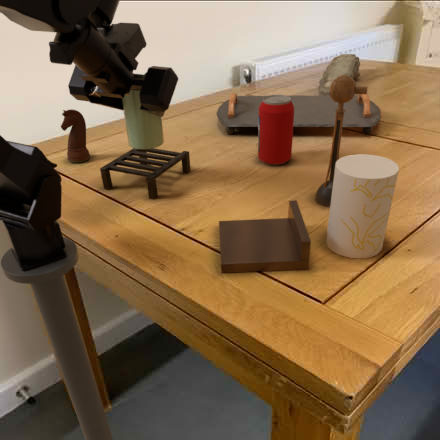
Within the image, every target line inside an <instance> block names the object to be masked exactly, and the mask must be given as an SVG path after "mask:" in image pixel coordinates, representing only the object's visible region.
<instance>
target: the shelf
mask: <svg viewBox="0 0 440 440" xmlns="http://www.w3.org/2000/svg"><path fill="white" fill-rule="evenodd" d="M218 232H219V250H220V251H219V253H220V271H221V272H220V273H221V274H226V273H228V274H229V273H248V272H250V273H252V272H271V271H292V270H297V271H298V270H309V264H310V255H311V243H312V241H311V238H310V235H309V232H308V229H307V226H306V223H305V220H304V218H303V215H302V212H301V209H300V206H299V203H298V200H296V199H295V200H288V211H287V217H281V218H260V219H259V218H257V219H256V218H255V219H233V220H219V221H218Z"/></svg>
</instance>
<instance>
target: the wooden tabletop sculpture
mask: <svg viewBox="0 0 440 440" xmlns="http://www.w3.org/2000/svg"><path fill="white" fill-rule="evenodd" d="M329 92H330V96H331V98H332V99H333V101H335V102H338V109H335V111H336V117H335V126H334V127H333V134H332V136H333V137H332V142H331V150H330V155H329V163H328V168H327V173H326V177H325V180H324V182H323V183H322V184H320V186H319V187H318V188H317V189H316V192H315V195H314V201H315V202H316V204H317V205H320V206H323V207H328V208H330V205H331V197H332V188H333V180H334V172H335V164H336V162H337V160H339V159H340V151H341V142H342V132H343V127H342V125H343V118H344V112H345V111H346V110H345V109H343V107H344V103H346V102H349V101H350V100H351V99H352V98H353V97H354V95H360V94H367V93H368V86H363V85H362V86H359V85H357V83H356V80H355V79H352V78H351V77H350V76H346V75H343V76H339V77H337V78H336V79H334V80H333V82H332V83H331V85H330V90H329Z"/></svg>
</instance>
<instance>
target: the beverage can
mask: <svg viewBox="0 0 440 440" xmlns="http://www.w3.org/2000/svg"><path fill="white" fill-rule="evenodd" d="M264 96H265V97H264V98H263V101H262V103H261V104H260V106H259V121H258V127H257V131H258V132H257V134H258V135H257V158H258V159H259V160H260V161H261V162H262V163H264V164H267V165H271V166H279V165H282V164H285V163H286V162H288V161H290V160H291V158H292V151H293V137H294V127H293V123H294V106H293V103H292V101H291V98H290V97H289V96H290V95H287V94H286V95H285V94H270V95H264Z"/></svg>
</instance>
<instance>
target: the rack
mask: <svg viewBox="0 0 440 440" xmlns="http://www.w3.org/2000/svg"><path fill="white" fill-rule="evenodd" d="M179 162H181V171H182V173H183V174H189V173H190V172H191V158H190V151H187V150H183V151H181V152H179V151H172V150H166V149H161V148H152V149H135V148H131V149H130V150H128V151H126V152H125V153H123V154H122V155H120V156H118V157H116V158H115V159H113V160H111V161H110V162H108V163H107V164H105V165H103V166H101V167H100V168H99V171H100V175H101V181H102V185H103V189H104V190H111V189H113V187H114V185H113V182H112V181H113V180H112V177H111V172H112V171H113V172H116V173H123V174H128V175H132V176H138V177H144V178H145V179H146V186H147V187H146V188H147V193H148V198H149V199H152V200H156V199H157V198H158V197H159V194H158V187H157V179H158V178H159V177H160V176H162V175H163V174H164V173H166V172H167V171H169V170H170V169H171V168H173V167H175V166H176V165H177V164H179Z"/></svg>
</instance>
